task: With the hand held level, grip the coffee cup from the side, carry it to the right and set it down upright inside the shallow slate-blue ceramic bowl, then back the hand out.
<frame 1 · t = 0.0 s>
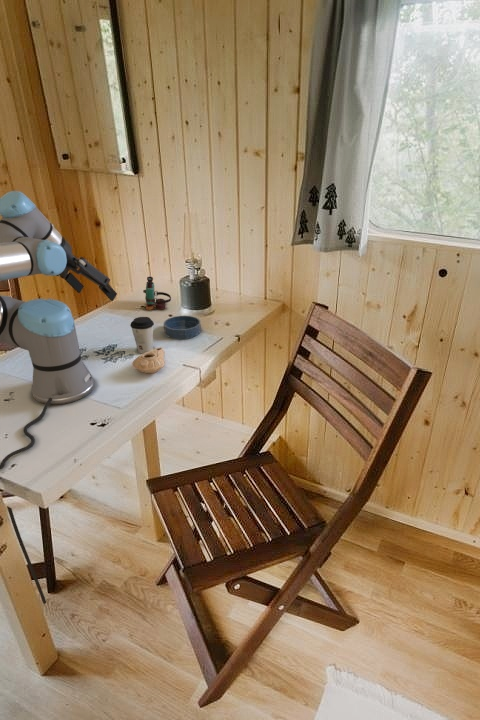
hand: (97, 293, 143), 15 cm above the table, tool tilted 35°, fingers open, 13 cm apart
coffee cup: (145, 350, 145), on the table
green and brown piece: (158, 307, 177), on the table
bowl: (183, 332, 157), on the table
pottery oil lamp: (154, 369, 136), on the table
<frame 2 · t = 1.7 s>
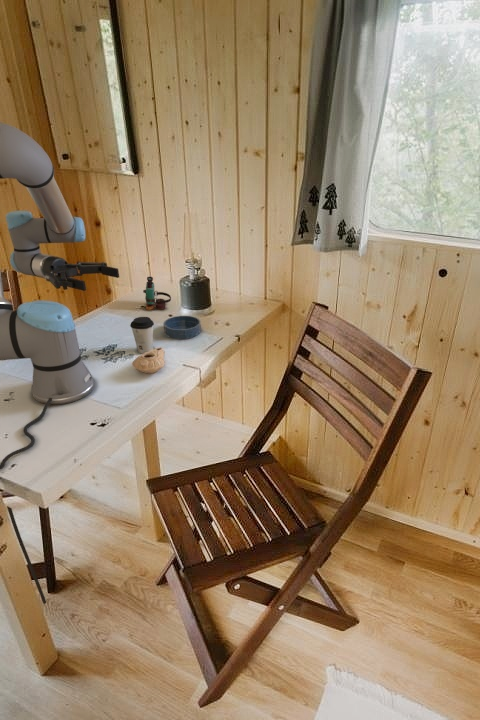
hand: (101, 279, 140), 20 cm above the table, tool horizontal, fingers open, 13 cm apart
nothing on the table moved.
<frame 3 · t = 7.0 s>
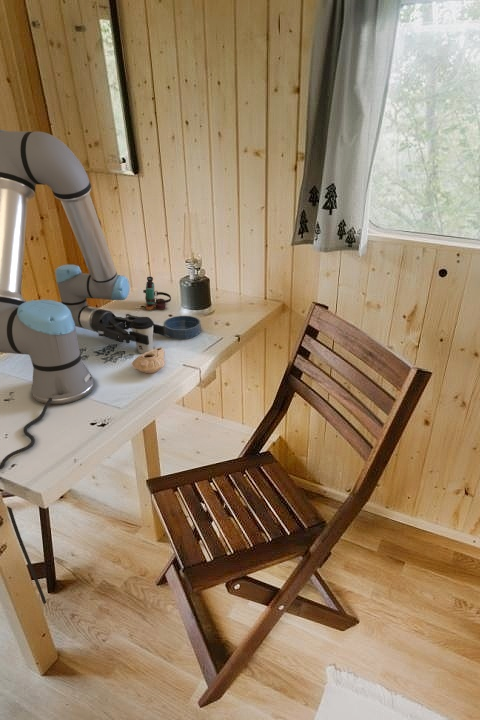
hand: (156, 335, 140), 6 cm above the table, tool horizontal, fingers closed on coffee cup, 7 cm apart
coffee cup: (145, 350, 145), on the table, touching gripper
everything else where it was.
when the fingers open (6 cm above the table, at t = 15.1 s): coffee cup stays where it is, resting on bowl.
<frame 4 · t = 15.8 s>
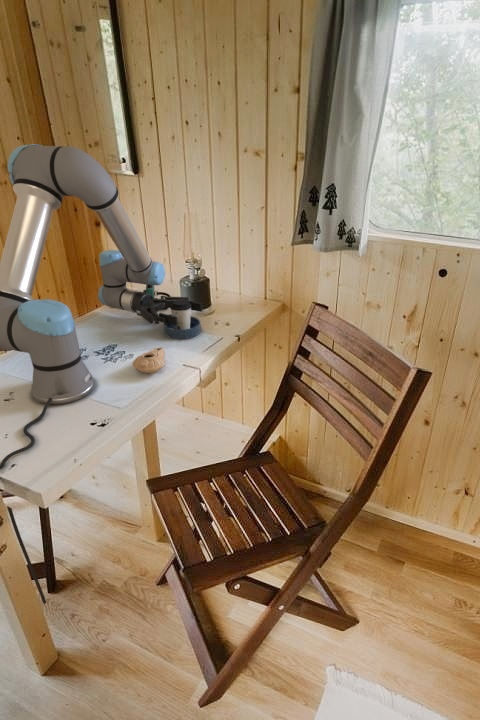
hand: (189, 314, 152), 7 cm above the table, tool horizontal, fingers open, 13 cm apart
coffee cup: (182, 331, 157), resting on bowl
everything else where it was.
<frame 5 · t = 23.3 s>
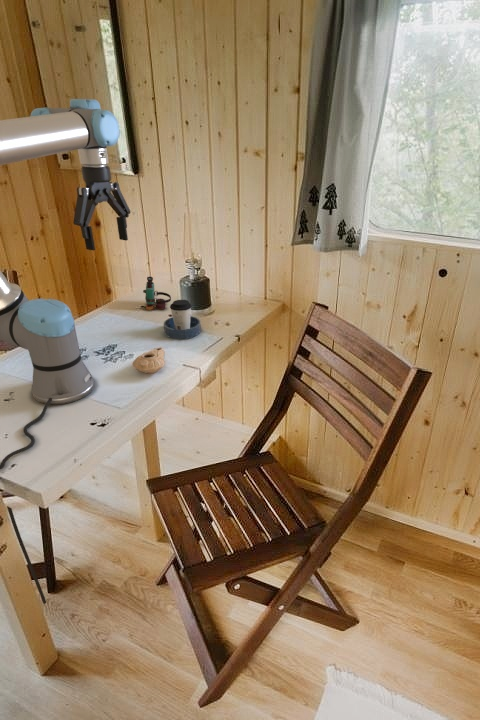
hand: (107, 244, 140), 29 cm above the table, tool pointing down, fingers open, 13 cm apart
nothing on the table moved.
at the end: coffee cup 0.0 cm off-centre in the bowl, point 0.3 cm above the bowl's base; coffee cup tilted 0°; the gripper is holding nothing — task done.
